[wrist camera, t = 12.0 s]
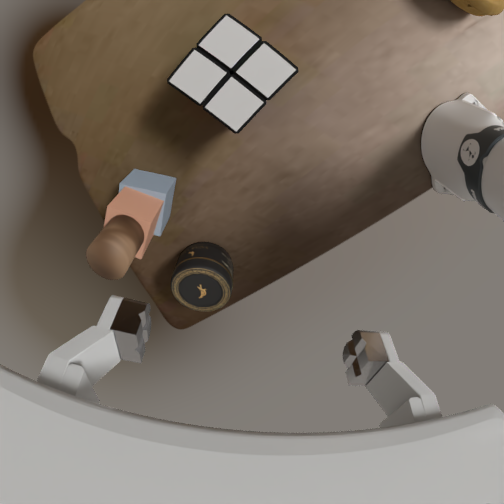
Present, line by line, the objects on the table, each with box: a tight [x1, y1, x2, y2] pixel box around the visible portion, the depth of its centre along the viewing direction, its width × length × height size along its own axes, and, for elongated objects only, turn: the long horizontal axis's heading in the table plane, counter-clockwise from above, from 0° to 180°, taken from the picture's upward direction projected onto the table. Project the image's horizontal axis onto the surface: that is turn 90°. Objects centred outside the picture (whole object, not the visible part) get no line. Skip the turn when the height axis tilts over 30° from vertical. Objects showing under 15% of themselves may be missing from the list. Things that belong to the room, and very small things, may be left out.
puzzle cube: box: [167, 14, 298, 133], centre depth 30 cm, size 10×10×10 cm
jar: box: [171, 242, 233, 311], centre depth 49 cm, size 10×10×8 cm
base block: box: [119, 169, 176, 236], centre depth 42 cm, size 7×7×6 cm
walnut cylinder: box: [86, 215, 144, 280], centre depth 32 cm, size 5×5×6 cm
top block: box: [104, 186, 164, 259], centre depth 37 cm, size 6×6×6 cm
